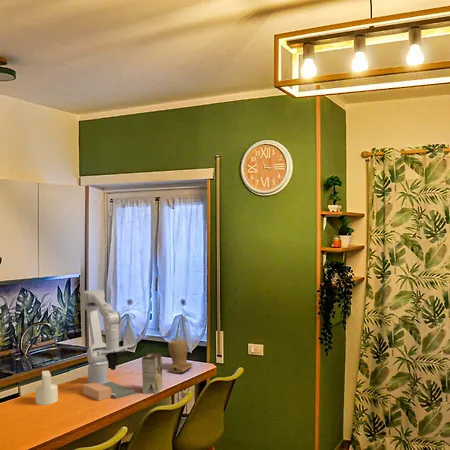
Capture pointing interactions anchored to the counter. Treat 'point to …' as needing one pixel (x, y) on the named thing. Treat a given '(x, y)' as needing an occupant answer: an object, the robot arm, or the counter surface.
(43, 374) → the base with upright slab
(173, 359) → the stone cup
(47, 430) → the counter surface
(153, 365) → the coffee box
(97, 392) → the tan rectangular block
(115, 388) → the board
